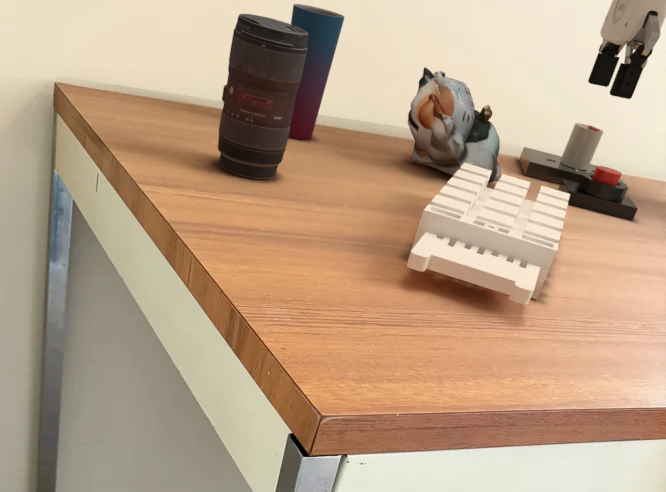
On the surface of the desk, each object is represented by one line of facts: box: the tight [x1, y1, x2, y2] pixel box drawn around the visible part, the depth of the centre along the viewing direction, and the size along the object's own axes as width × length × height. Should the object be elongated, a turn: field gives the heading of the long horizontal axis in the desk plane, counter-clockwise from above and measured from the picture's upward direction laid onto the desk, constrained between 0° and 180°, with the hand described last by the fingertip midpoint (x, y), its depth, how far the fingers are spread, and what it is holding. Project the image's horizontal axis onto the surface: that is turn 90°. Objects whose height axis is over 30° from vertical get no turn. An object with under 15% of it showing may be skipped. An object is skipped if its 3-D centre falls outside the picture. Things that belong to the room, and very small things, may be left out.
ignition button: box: [592, 165, 623, 185], centre depth 116 cm, size 4×4×2 cm
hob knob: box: [560, 122, 604, 170], centre depth 126 cm, size 4×4×6 cm
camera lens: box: [217, 13, 308, 180], centre depth 91 cm, size 8×8×15 cm
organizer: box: [406, 163, 570, 306], centre depth 87 cm, size 13×5×35 cm
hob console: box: [519, 146, 625, 185], centre depth 129 cm, size 15×11×2 cm
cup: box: [288, 3, 345, 141], centre depth 111 cm, size 7×7×15 cm
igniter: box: [557, 172, 639, 222], centre depth 117 cm, size 10×7×4 cm
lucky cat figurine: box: [407, 67, 502, 186], centre depth 113 cm, size 15×12×14 cm
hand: (608, 90), depth 121 cm, fingers open, 9 cm apart
